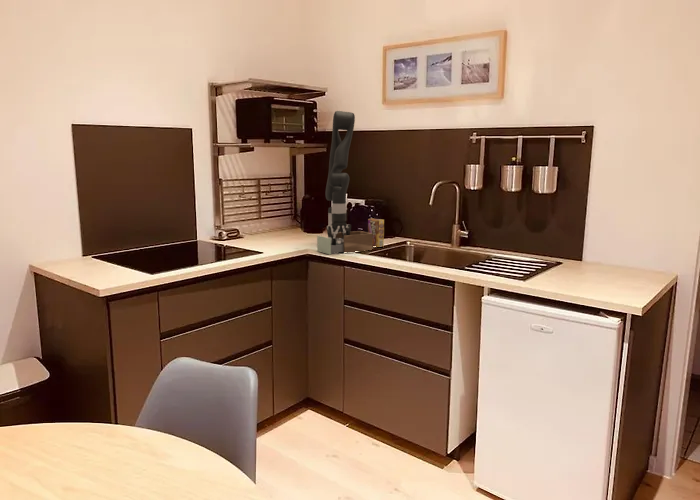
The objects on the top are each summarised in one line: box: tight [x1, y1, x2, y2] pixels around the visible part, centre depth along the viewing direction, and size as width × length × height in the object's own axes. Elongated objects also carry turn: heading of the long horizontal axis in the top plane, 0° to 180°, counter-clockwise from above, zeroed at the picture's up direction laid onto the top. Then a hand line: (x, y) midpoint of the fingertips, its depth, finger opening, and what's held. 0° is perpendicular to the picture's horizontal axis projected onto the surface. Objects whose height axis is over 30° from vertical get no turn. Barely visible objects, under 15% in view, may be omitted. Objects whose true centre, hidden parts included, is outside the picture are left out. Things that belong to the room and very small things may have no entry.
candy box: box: [367, 218, 385, 247], centre depth 289 cm, size 9×4×15 cm, turn 39°
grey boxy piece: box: [316, 235, 344, 256], centre depth 274 cm, size 13×17×8 cm
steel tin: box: [335, 238, 344, 245], centre depth 274 cm, size 5×5×4 cm
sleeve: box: [335, 230, 374, 253], centre depth 279 cm, size 12×17×9 cm
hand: (338, 244), depth 274 cm, fingers closed on steel tin, 5 cm apart
